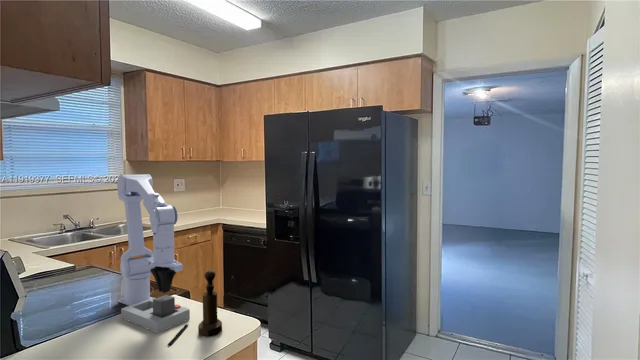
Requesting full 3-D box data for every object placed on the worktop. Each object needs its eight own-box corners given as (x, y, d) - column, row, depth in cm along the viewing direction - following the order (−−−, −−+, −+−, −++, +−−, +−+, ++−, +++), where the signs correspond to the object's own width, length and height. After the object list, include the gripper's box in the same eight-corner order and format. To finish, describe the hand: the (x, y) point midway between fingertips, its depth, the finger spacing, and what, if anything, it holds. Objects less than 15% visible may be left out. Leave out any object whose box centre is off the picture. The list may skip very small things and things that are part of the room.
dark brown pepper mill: (197, 328, 104) (197, 267, 103) (220, 325, 106) (220, 265, 105) (199, 339, 97) (198, 274, 97) (223, 334, 100) (223, 271, 99)
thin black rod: (185, 326, 106) (185, 322, 106) (189, 326, 106) (189, 322, 106) (167, 347, 94) (167, 343, 94) (171, 347, 94) (171, 343, 94)
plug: (153, 322, 107) (152, 299, 106) (166, 316, 111) (166, 294, 110) (161, 325, 105) (161, 302, 104) (174, 319, 109) (174, 297, 108)
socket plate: (121, 318, 110) (121, 307, 110) (153, 306, 119) (153, 295, 119) (157, 332, 101) (157, 320, 101) (189, 318, 110) (189, 307, 110)
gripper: (136, 246, 107) (137, 290, 108) (167, 252, 100) (167, 300, 100) (158, 241, 113) (158, 284, 114) (188, 247, 106) (188, 292, 106)
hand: (164, 291), depth 107 cm, fingers closed
